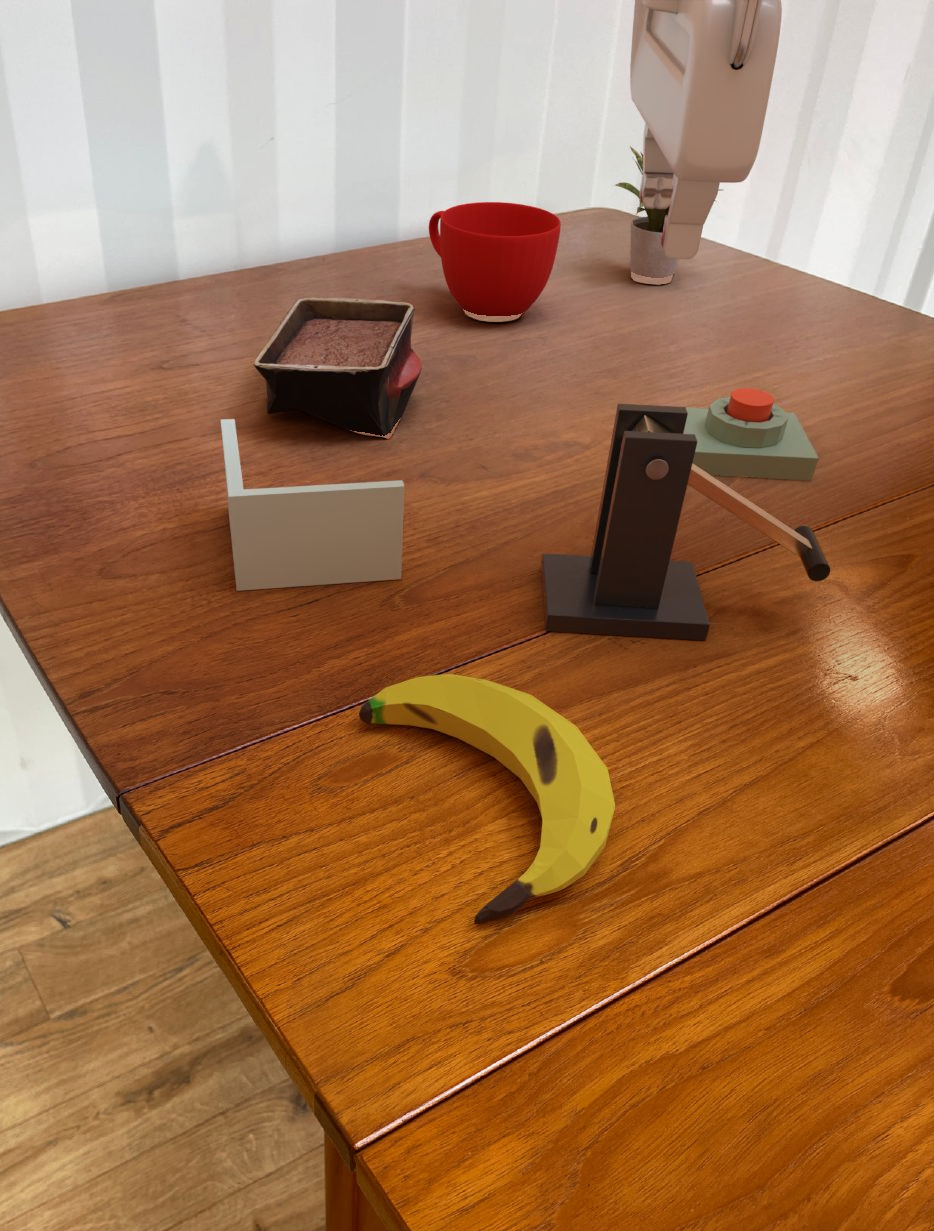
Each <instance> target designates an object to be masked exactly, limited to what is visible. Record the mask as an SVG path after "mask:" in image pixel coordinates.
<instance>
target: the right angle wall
mask: <svg viewBox="0 0 934 1231" xmlns="http://www.w3.org/2000/svg"><path fill="white" fill-rule="evenodd" d="M220 429H221V441H222V451H223V452H222V453H223V463H224V464H223V465H224V476H225V486H226V487H225V488H226V498H227V500H226V501H227V511H228V519H229V521H228V522H229V527H230V528H229V530H230V540H231V548H232V549H231V550H232V559H233V569H234V577H235V579H234V580H235V588H236V592H238V591H239V592H240V591H252V590H253V591H254V590H269V589H281V588H282V589H283V588H292V587H293V588H294V587H295V588H296V587H309V586H326V585H338V584H350V583H351V584H352V583H365V582H367V583H368V582H380V581H392V580H393V581H395V580H402V573H403V572H402V569H403V568H402V567H403V566H402V564H403V541H404V540H403V539H404V516H405V492H406V490H405V488H406V486H405V483H404V480H402V479H401V480H400V479H399V480H384V481H383V480H382V481H365V482H364V481H363V482H350V483H333V484H316V485H315V484H314V485H313V484H312V485H297V486H281V487H264V488H263V487H262V488H247V489H246V488H245V489H244V481H243V474H242V467H241V458H240V450H239V444H238V436H237V427H236V419H235V418H225V419H224V418H223V419H222V418H221V419H220Z"/></svg>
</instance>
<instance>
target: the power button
mask: <svg viewBox="0 0 934 1231" xmlns="http://www.w3.org/2000/svg"><path fill="white" fill-rule="evenodd" d="M729 397H730V400H729V404H728V408H727V414H728V415H729V416H731V417H732V418H734V419H738V420H742V421H745V422H758V423H761V422H765V421H768V420H769V417H770V413H771V410H772V406H773V404H774V402H775V398H774V397H773V395H772V394H770V393H768V392H766V391H763V390H761V389H756V388H748V387H747V388H745V387H744V388H738V389H735V390H733V391H732V392H731V394H730V396H729Z"/></svg>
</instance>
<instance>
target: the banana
mask: <svg viewBox="0 0 934 1231" xmlns="http://www.w3.org/2000/svg"><path fill="white" fill-rule="evenodd" d="M358 716H359V720H360V721H362V722H363V723H365V724H367V725H369V726H370V725H372V724H380V725H381V724H382V725H398V726H399V725H400V726H402V725H403V726H412V727H419V728H425V729H431V730H434V731H438V732H440V733H443V734H445V735H448V736H451V737H452V738H453V737H454V738H456V739H458V740H460V741H463V742H465V743H466V744H468V745H470V746H471V747H474V748H475V749H478V750H479V751H482V752H484V753H485V754H487V755H489V756H491V757H493V758H494V759H496V760H497V761H498V762H499V763H500V764H502V765H503V766H504V767H505V768H507V769H508V771H510V772H511V773H512V774H514V775H515V776H516V777H517V778H519V779H520V781H521V782H522V783H523V784H524V786H525V788H526V789H527V790H528V792H529V793H530V795H531V796H532V798H533V799H534V801H535V802H536V803H537V804H536V805H537V806H538V809H539V810H538V811H539V812H540V816H541V820H542V822H541V831H540V832H541V835H540V843H539V844H540V845H539V849H538V851H537V853H536V856H535V858H534V860H533V861H532V862H531V864H530V866H529V867H528V868H527V870H526V871H525V872H524V873H522V875H521V876H519V878H517V879H516V880H515V881H513V882H512V883H511V884H510V885H508V886H507V887H506V888H504V889H503V890H502V891H501V892H499V893H498V894H497V895H496V896H495V897H493V898H492V899H490V901H488V903H486V904H485V905H484V906H483V907H482V908H481V909H480V910H479V911H478V912H477V913H476V914H475V917H474V922H473V923H474V925H477V926H478V925H479V926H480V925H483V924H486V923H488V922H493V921H497V920H500V919H503V918H505V917H507V916H509V915H512V914H514V913H515V912H516V911H518V910H519V909H520V908H521V907H523V906H524V905H525V904H526V902H528V901H529V900H530V899H532V898H537V897H544V896H547V895H551V894H554V893H557V892H559V891H562V890H564V889H565V888H567V887H569V886H571V885H572V884H573V883H575V882H577V881H578V880H580V879H581V878H582V877H584V876H585V875H586V873H587V872H588V871H589V870H590V868H591V867H592V866H593V865H594V863H595V862H596V860H597V859H598V858H599V856H600V855H601V854H602V852H603V851H604V850H605V848H606V845H607V842H608V837H609V833H610V830H611V826H612V824H613V823H612V822H613V819H614V814H615V809H616V803H615V802H616V801H615V797H614V793H613V788H612V784H611V778H610V774H609V769H608V767H607V766H606V764H605V763H604V762H603V761H602V760H603V759H601V757H600V756H599V755H598V753H597V752H596V751H595V749H594V748H593V746H592V745H591V744H590V742H589V740H587V739H586V737H585V736H584V734H583V733H582V732H581V729H579V728H578V726H577V725H575V724H574V723H572V722H571V721H570V720H569V719H567V718H565V717H564V716H562V715H561V714H559V713H558V712H557V711H555V710H554V709H552V708H551V707H550V706H548V705H546V704H545V703H544V702H543V701H541V700H539V699H538V698H536V697H535V696H533V695H532V694H530V693H527V692H524V691H521V690H519V689H515V688H512V687H509V686H506V685H504V684H502V683H497V682H495V681H491V680H490V679H484V678H477V677H472V676H465V675H461V674H460V675H459V674H453V673H445V674H434V675H425V676H424V675H423V676H416V677H414V678H411V679H407V680H404V681H402V682H398V683H396V684H393V685H388V686H385V687H384V688H383V689H381V690H380V691H379V692H377V693H376V694H375V695H374V696H372V697H371V698H369V699H368V700H367V701H366V702H365V703H364V704H363V705H361V706H360V709H359V711H358Z"/></svg>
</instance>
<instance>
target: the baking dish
mask: <svg viewBox="0 0 934 1231" xmlns="http://www.w3.org/2000/svg"><path fill="white" fill-rule="evenodd" d="M414 316H415V306H414V305H413V304H411V303H409V302H404V301H403V302H402V301H390V300H382V299H381V300H380V299H369V298H368V299H366V298H348V297H313V296H312V297H303V298H298V299H296V300H295V302H293V305H292V306H291V307H290V308H289V310H288V311H287V312H286V314H285V315H284V317H282V320H281V321H280V322H279V325H278V326H277V328H276V329H275V332H274V333H273V335H272V336H271V337H270V338H269V339H268V342H267V343H266V344H265V345H264V347H263V349H262V350H261V351H260V353H258V355H257V356H256V358H255V360H254V362H253V366H254V368H255V369H256V371H257V372H258V373H259V374H260V375H261V376H262V377H263V378H264V380H265V389H266V414H268V415H273V413H274V414H278V413H284V412H291V411H297V410H299V411H301V412H304V413H306V414H308V415H311V416H313V417H316V418H317V419H320V420H323V421H325V422H328V423H330V424H332V423H333V424H332V425H334V424H335V426H337V427H339V426H340V428H341V427H343V428H342V429H344V428H345V429H344V430H346V429H348V430H352V431H357V432H365V433H370V434H375V435H380V436H382V435H383V436H385V435H387V434H388V433H391V431H392V429H393V427H394V426H395V424H396V423H397V422H398V420H399V419H400V418H401V417H402V418H403V416H404V414H405V411H406V409H407V407H408V404H409V401H410V399H411V396H412V394H413V392H414V390H415V387H416V386H417V382H418V380H419V378H420V375H421V372H422V369H423V368H422V366H423V364H422V361H421V359H420V357H419V355H417V353H416V352H415V351H414V349H413V348H412V334H413V325H414ZM402 418H401V419H402ZM348 430H347V431H348Z"/></svg>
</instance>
